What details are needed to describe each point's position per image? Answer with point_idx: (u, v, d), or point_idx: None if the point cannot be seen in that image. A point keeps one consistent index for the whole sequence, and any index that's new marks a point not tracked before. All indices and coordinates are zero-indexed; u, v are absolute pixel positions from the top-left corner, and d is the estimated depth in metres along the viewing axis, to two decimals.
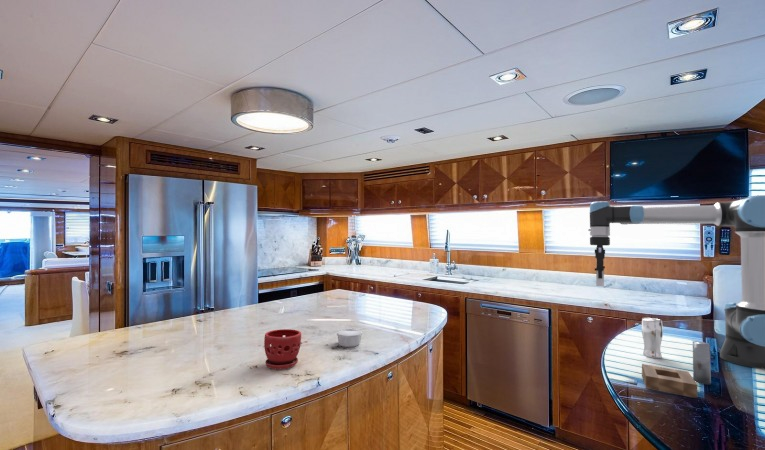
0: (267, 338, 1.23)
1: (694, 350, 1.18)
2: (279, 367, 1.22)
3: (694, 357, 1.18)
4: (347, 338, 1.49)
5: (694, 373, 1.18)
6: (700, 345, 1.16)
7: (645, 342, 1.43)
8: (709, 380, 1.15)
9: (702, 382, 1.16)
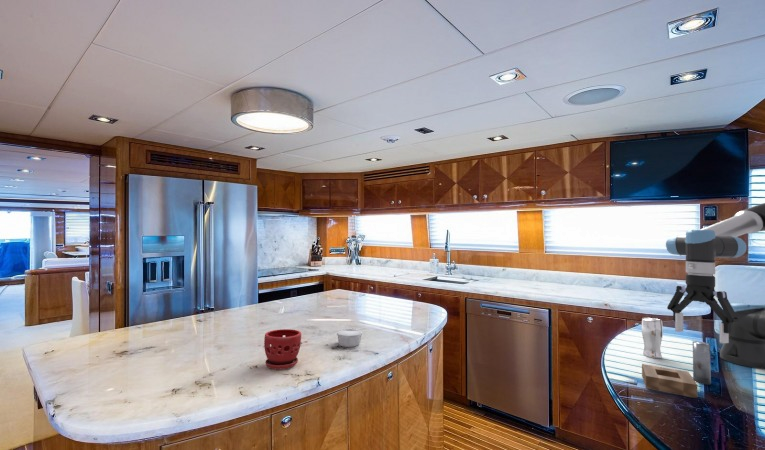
0: (267, 338, 1.23)
1: (694, 350, 1.18)
2: (279, 367, 1.22)
3: (694, 357, 1.18)
4: (347, 338, 1.49)
5: (694, 373, 1.18)
6: (700, 345, 1.16)
7: (645, 342, 1.43)
8: (709, 380, 1.15)
9: (702, 382, 1.16)
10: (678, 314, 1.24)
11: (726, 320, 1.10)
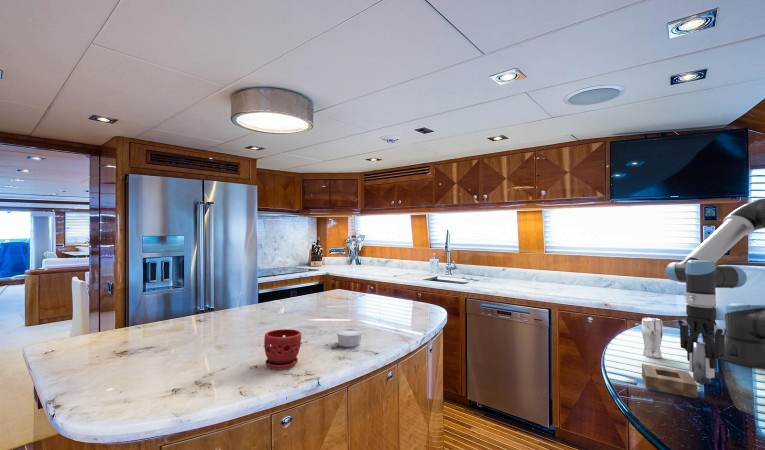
0: (267, 338, 1.23)
1: (694, 350, 1.18)
2: (279, 367, 1.22)
3: (694, 357, 1.18)
4: (347, 338, 1.49)
5: (694, 373, 1.18)
6: (700, 345, 1.16)
7: (645, 342, 1.43)
8: (709, 380, 1.15)
9: (702, 382, 1.16)
10: (692, 354, 1.19)
11: (712, 357, 1.14)
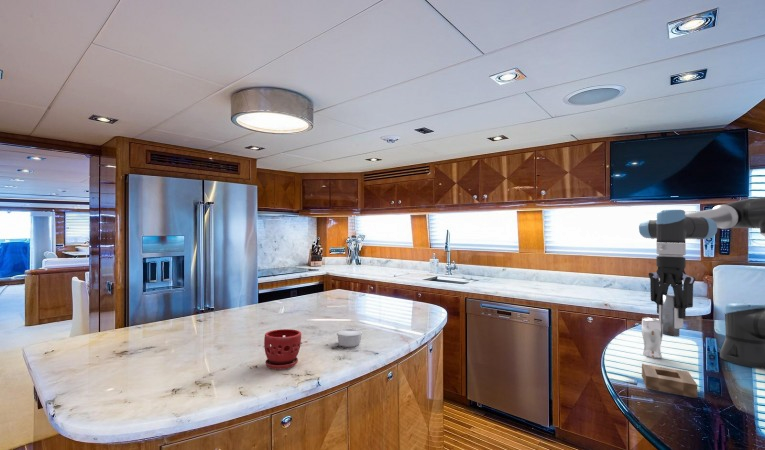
0: (267, 338, 1.23)
1: (663, 302, 1.15)
2: (279, 367, 1.22)
3: (663, 309, 1.15)
4: (347, 338, 1.49)
5: (663, 326, 1.15)
6: (669, 297, 1.14)
7: (645, 342, 1.43)
8: (678, 332, 1.13)
9: (670, 334, 1.13)
10: None
11: (680, 306, 1.11)
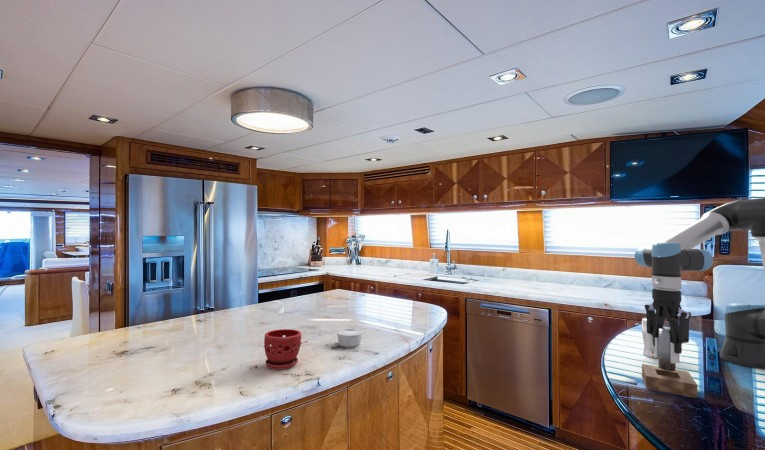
0: (267, 338, 1.23)
1: (659, 336, 1.14)
2: (279, 367, 1.22)
3: (659, 343, 1.14)
4: (347, 338, 1.49)
5: (659, 360, 1.14)
6: (665, 331, 1.13)
7: (645, 342, 1.43)
8: (674, 367, 1.12)
9: (667, 369, 1.12)
10: None
11: (677, 341, 1.10)
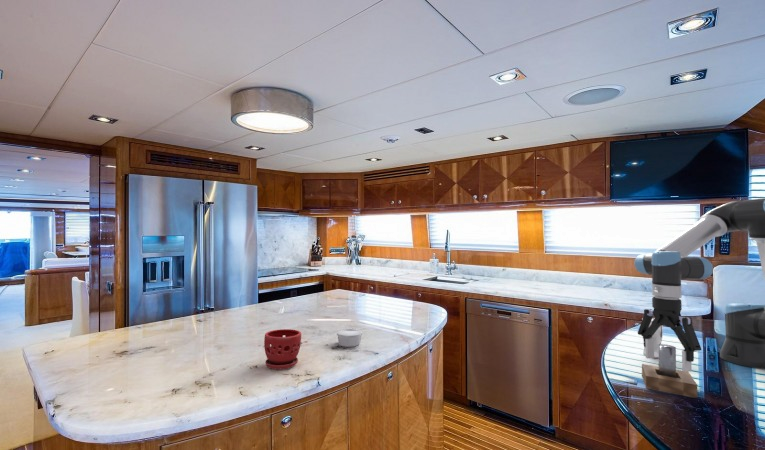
0: (267, 338, 1.23)
1: (660, 353, 1.14)
2: (279, 367, 1.22)
3: (660, 360, 1.14)
4: (347, 338, 1.49)
5: None
6: (665, 348, 1.13)
7: None
8: None
9: None
10: (648, 340, 1.19)
11: (688, 348, 1.07)
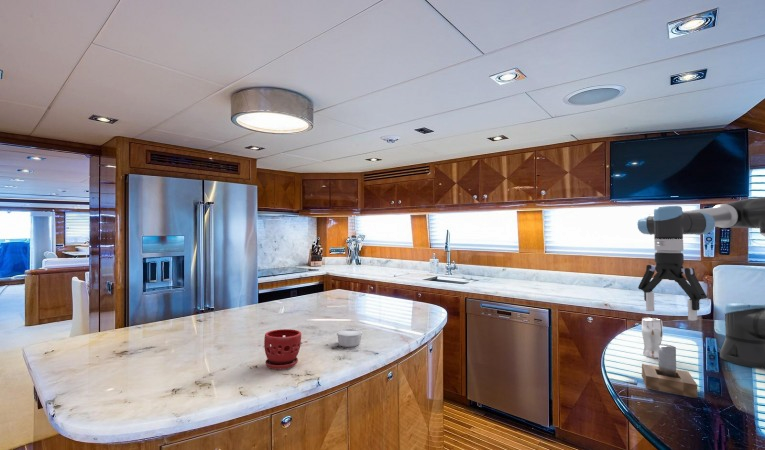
0: (267, 338, 1.23)
1: (660, 353, 1.14)
2: (279, 367, 1.22)
3: (660, 360, 1.14)
4: (347, 338, 1.49)
5: None
6: (665, 348, 1.13)
7: (645, 342, 1.43)
8: None
9: None
10: (649, 293, 1.22)
11: (694, 297, 1.08)
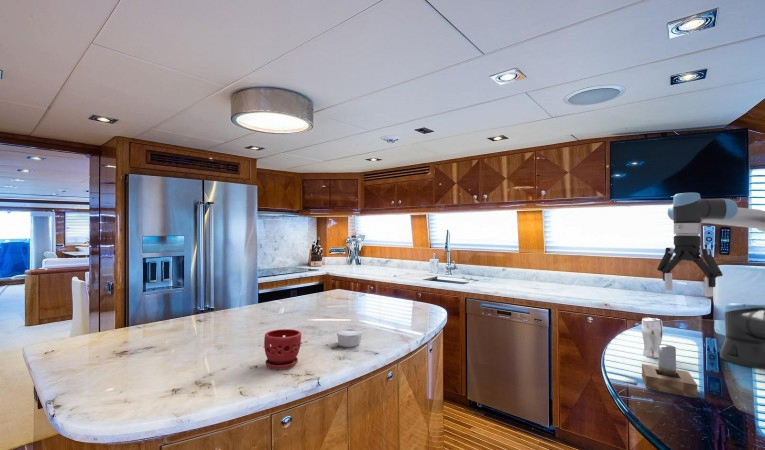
0: (267, 338, 1.23)
1: (660, 353, 1.14)
2: (279, 367, 1.22)
3: (660, 360, 1.14)
4: (347, 338, 1.49)
5: None
6: (665, 348, 1.13)
7: (645, 342, 1.43)
8: None
9: None
10: (667, 274, 1.32)
11: (710, 275, 1.18)
